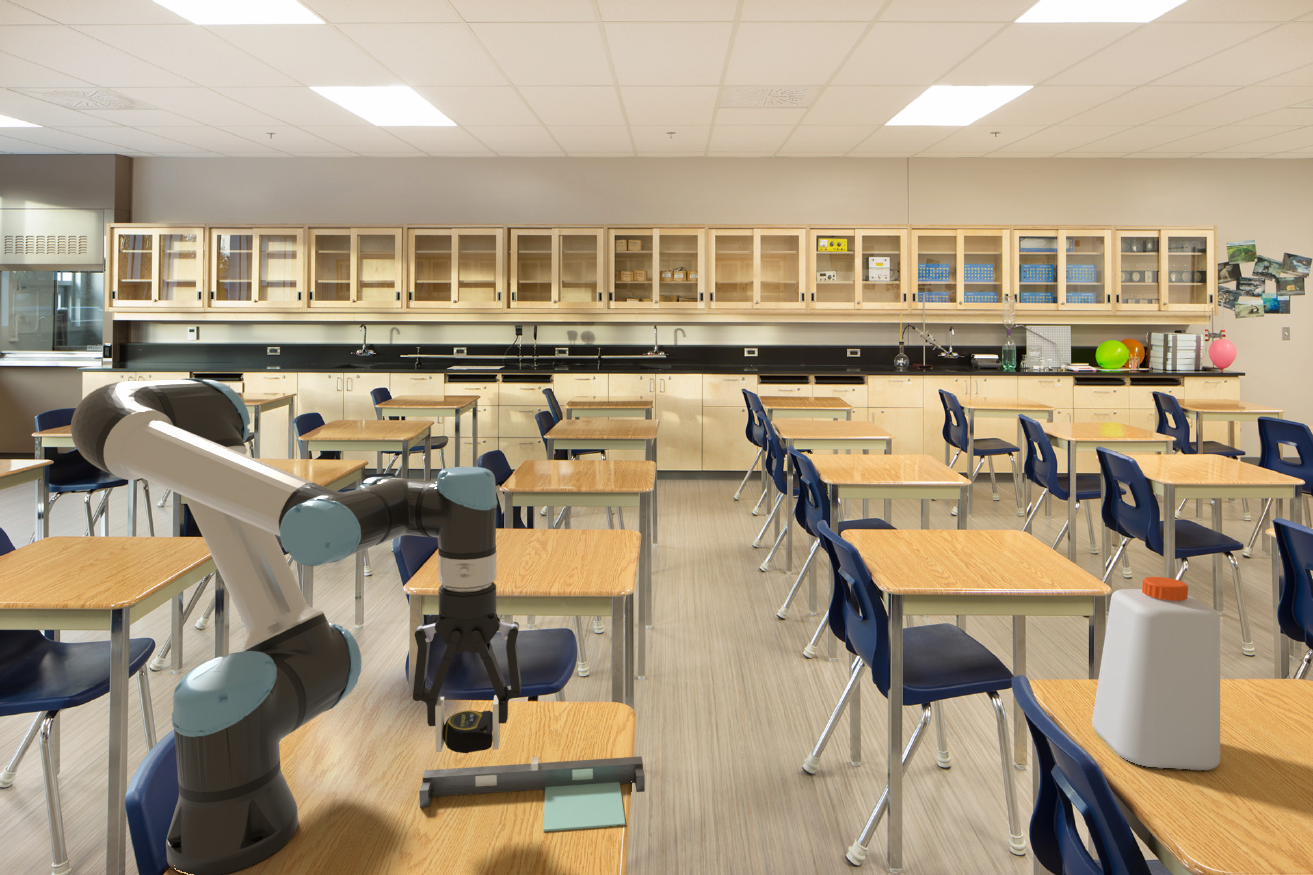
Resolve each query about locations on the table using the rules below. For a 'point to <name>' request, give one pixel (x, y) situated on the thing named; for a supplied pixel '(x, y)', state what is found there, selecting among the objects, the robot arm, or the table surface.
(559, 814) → the pad
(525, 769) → the rail
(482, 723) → the tape measure
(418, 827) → the table surface
